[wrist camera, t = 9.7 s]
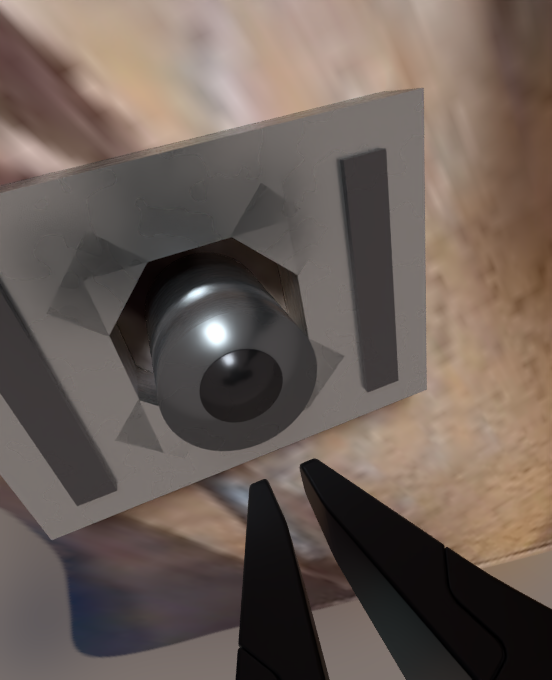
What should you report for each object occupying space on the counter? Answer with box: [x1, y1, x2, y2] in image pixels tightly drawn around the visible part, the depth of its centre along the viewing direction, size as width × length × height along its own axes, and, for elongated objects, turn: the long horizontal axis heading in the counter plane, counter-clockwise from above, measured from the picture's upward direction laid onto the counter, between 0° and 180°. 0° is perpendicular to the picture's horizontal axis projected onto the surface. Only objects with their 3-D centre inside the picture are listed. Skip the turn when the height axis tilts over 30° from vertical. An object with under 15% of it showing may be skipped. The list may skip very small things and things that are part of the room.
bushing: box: [145, 253, 317, 451], centre depth 15 cm, size 5×5×6 cm
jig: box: [0, 88, 427, 540], centre depth 17 cm, size 18×13×3 cm
